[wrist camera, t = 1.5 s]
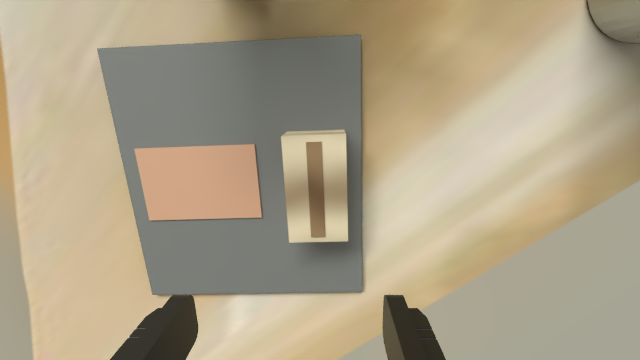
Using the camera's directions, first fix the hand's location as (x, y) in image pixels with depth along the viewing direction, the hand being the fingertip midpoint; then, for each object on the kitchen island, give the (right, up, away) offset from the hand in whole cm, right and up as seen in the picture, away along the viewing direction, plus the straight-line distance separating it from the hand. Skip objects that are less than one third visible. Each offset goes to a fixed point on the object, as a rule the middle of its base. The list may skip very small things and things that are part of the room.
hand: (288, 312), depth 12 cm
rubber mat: (-6, +5, +16) cm, 18 cm away
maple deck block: (+1, +6, +15) cm, 16 cm away
